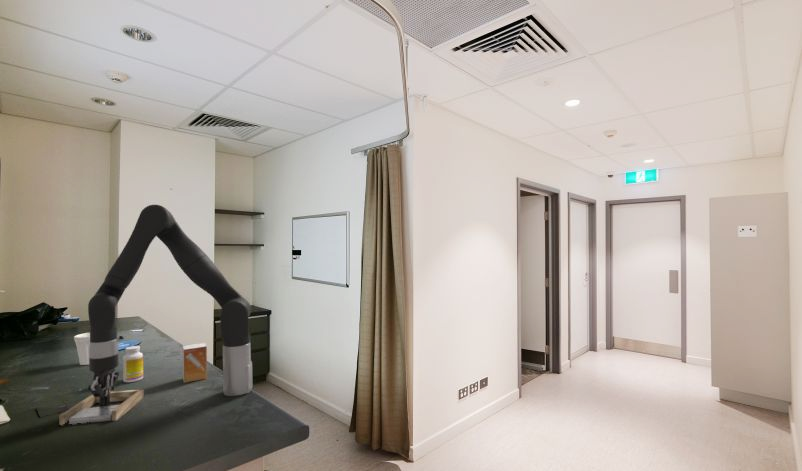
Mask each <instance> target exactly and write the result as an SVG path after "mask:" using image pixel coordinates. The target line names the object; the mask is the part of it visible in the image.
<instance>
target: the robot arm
mask: <svg viewBox="0 0 802 471" xmlns="http://www.w3.org/2000/svg"><path fill="white" fill-rule="evenodd" d="M155 238H158V239H159V240H160V241H161V242H162V243H163V244H164V245H165V246H166V248H167V249H168V250H169V252H170V253H171V255H172V257H173V259H174V260H175V261H176V264H177V265H178V267H179V268H180V269H181V270H182V272H183V274H185V276H186V277H188V279H190V280H191V282H192V283H193V284H195V285H196V286H197V287H199V288H200V289H201V290H203V291H204V292H206V293H207V294H209V295H210V296H211V297H212V298H213V299H214V300H215V301H216V302H217V303H218V305H219V306H220V309H221V310H220V313H219V314H220V315H219V318H220V336H221V340H222V378H223V380H222V382H223V383H222V384H223V385H222V389H223V395H224V396H228V397H237V396H242V395H244V394H249V393H250V392H251V390H252V389H253V387H254V386H253V361H252V359H251V357H252V356H251V355H252V354H251V334H250V330H249V326H250V324H249V317H250V315H251V313H252V307H251V304H250V303H249V301H248V300H247V299H246V298H245V297H244V296H243V295H242V294H241V293H239V292H238V291H237V289H235V288H234V287H233V286H232V285H231V283H229V281H228V280H227V278H226V277H225V276H224V275H223V273H222V272H221V271H220V269H219V268H218V267H217V265H215V263H214V262H213V260H211V258H210V257H209V256H208V255H207V254H206V253H205V252H204V251H203V250H202V248H201V247H199V246H198V245H197V244H196V243H195V242H194V241H193V240H192V239H190V237H188V235H187V234H186V233H185V232H184V231H183V229H182V228H181V226H180V225H179V223H178V222H177V221H176V219H175V218H174V215H173V214H172V213H171V212H170V211H169V210H168V208H165V207H164V206H162V205H160V204H149V205H147V206H145V207H144V208H143V209H142V210H141V212H140V213H139V216H138V219H137V221H136V223H135V226H134V228H133V230H132V232H131V235H130V236H129V238H128V240H127V242H126V244H125V246H124V247H123V249H122V251H121V252H120V254H118V255H119V256H117V258H116V259H115V262H114V263H113V265H112V266H111V268H109V270H108V272H107V274H106V276H105V278H104V281H103V283H102V284H101V285H100V287H99V288H98V290H97V291H96V292H95V294H94V295H93V296H92V297H91V298H90V299H89V301H88V305H87V310H88V311H87V313H88V320H89V333H90V347H89V364H88V369H89V371H90V372H92V373H94V374H93V378H92V380H93V382H92V384H89V385H88V386H87V389H88V391H89V392H90V393H91V395H92V394H93V396H94V397H99V399H100V403H99V407H102V406H111V402H110V394H111V392H112V391H114V390H115V388H116V386H117V381H118V378H119V375H120V372H119V371H115V369H116V368H117V367H118V366H119V343H118V326H117V323H116V308H117V305H118V303H119V301H120V299H121V298H122V297H123V295H124V292H125V291H126V289H127V288H128V287H129V285H131V282H132V281H133V279H134V278H135V276H136V275H137V273H138V272H139V269H140V268H141V266H142V263H143V260H144V258H145V255H146V253H147V251H148V249H149V248H150V245H151V244H152V242H153V241H154V239H155ZM246 387H247V388H246ZM249 389H250V390H249Z"/></svg>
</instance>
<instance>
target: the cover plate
mask: <svg viewBox="0 0 802 471" xmlns="http://www.w3.org/2000/svg"><path fill="white" fill-rule="evenodd" d="M119 405H120V404H115V405H114V404H113V405H109V406H102V407H100V406H94V407H93V406H91V407H90V408H82V409H81V410H80V411H78V412H77V413H76V414H74V415H73V416H72V417H70V418H69V422H68V425H69V424H72V425H78V424H77V423H81V424H89V422H91V423H98V422H99V423H100V422H109V421H112V411H113V410H114V409H115V408H117V407H118V406H119ZM87 422H88V423H87Z"/></svg>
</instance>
